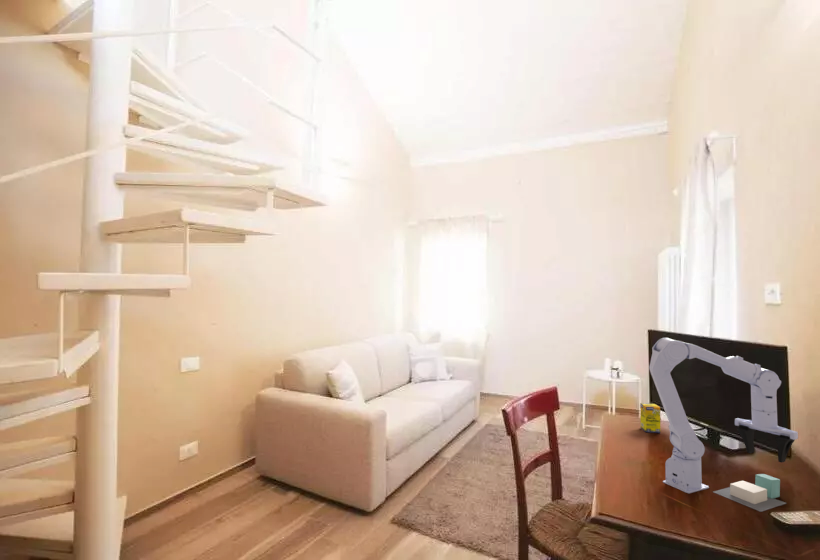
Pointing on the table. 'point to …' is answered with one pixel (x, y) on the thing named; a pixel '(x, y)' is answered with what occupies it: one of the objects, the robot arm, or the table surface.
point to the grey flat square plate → (759, 506)
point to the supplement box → (650, 418)
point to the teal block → (768, 484)
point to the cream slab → (748, 492)
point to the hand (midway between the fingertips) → (765, 456)
